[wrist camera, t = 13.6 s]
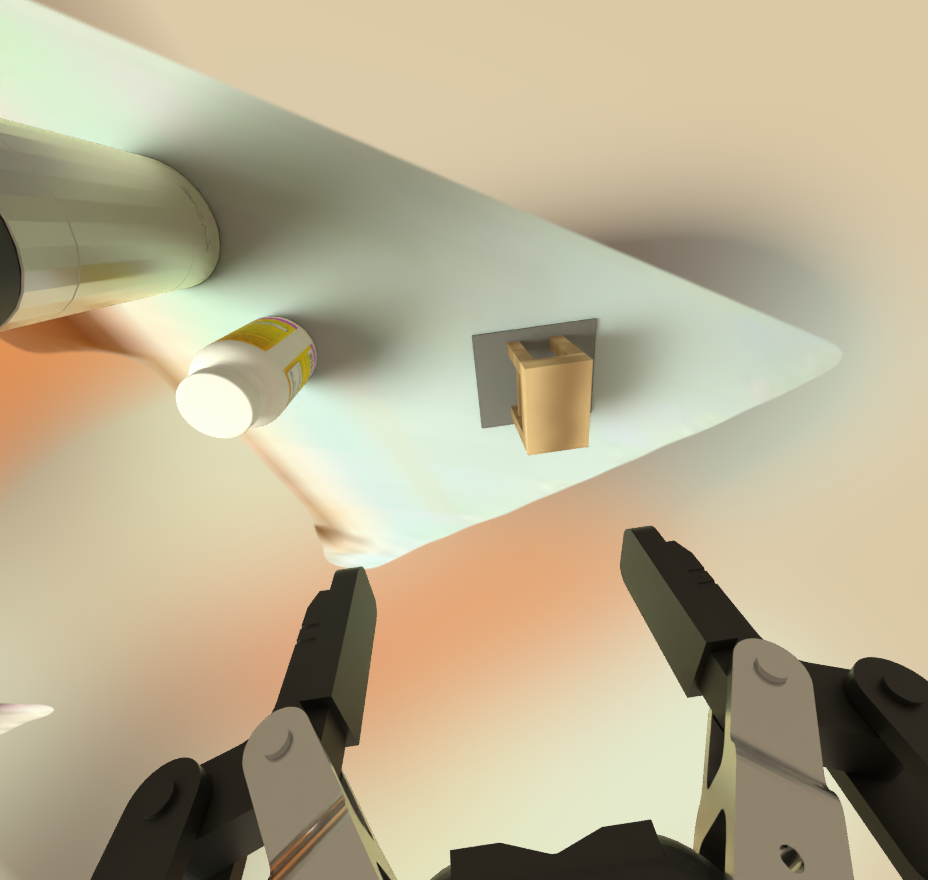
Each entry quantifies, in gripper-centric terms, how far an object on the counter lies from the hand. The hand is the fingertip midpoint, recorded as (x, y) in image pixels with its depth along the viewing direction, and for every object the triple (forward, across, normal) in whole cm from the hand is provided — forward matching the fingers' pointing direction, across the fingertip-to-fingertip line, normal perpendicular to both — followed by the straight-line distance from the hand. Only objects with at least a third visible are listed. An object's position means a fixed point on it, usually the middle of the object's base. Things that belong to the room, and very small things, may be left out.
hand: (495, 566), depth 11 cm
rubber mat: (+28, -8, +5) cm, 30 cm away
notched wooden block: (+28, -8, +5) cm, 29 cm away
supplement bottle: (+28, +16, -1) cm, 33 cm away
